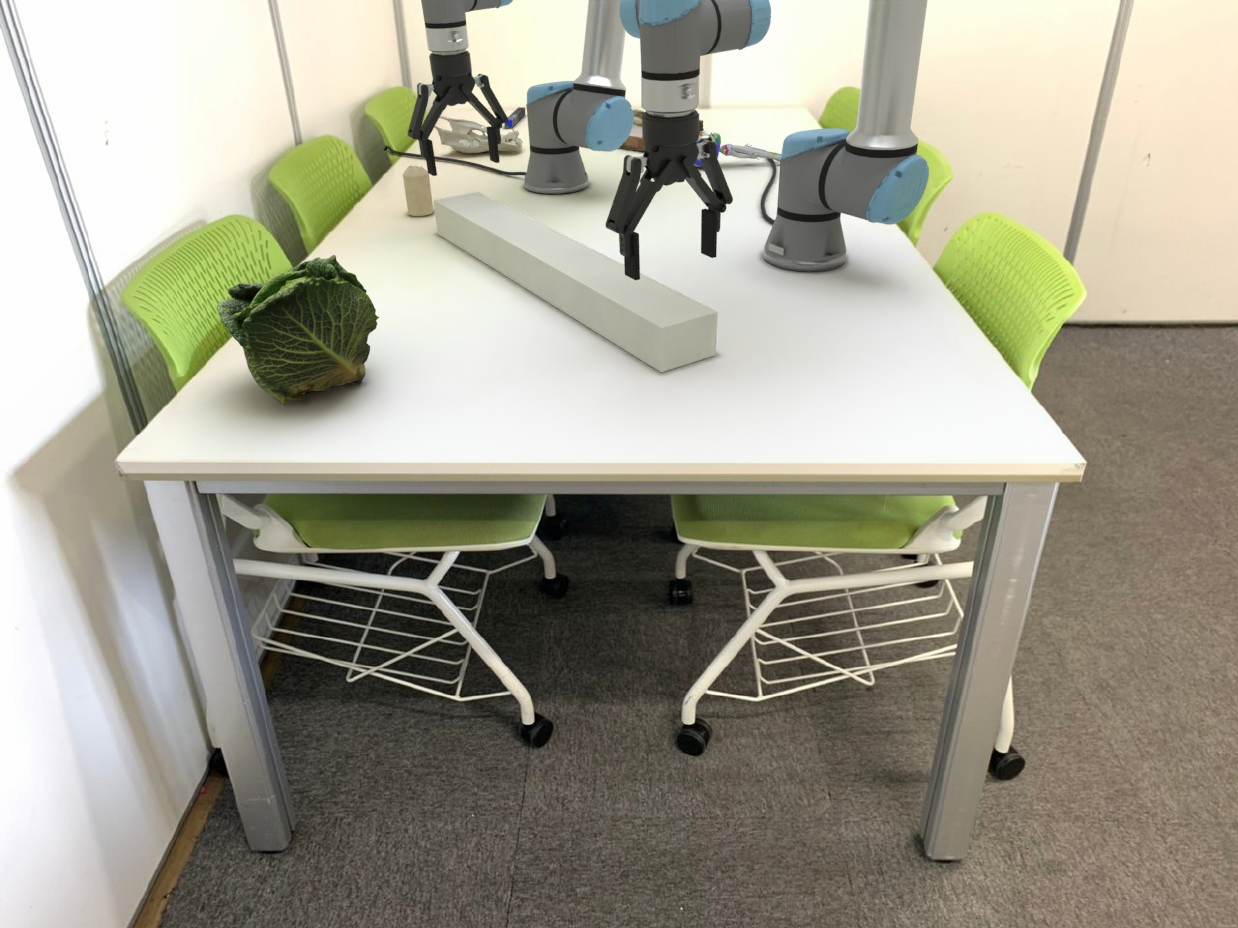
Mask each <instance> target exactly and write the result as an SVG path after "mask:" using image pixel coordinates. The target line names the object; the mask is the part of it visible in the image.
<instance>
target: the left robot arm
mask: <svg viewBox="0 0 1238 928" xmlns="http://www.w3.org/2000/svg"><path fill="white" fill-rule="evenodd" d="M513 1H514V0H420V2H421V9H422V14H423V22H424V30H425V38H426V45H427V50H428V51H429V52H430V53H429V55H428V58H429V64H430V65H429V66H430V71H431V72H430V73H431V78H432V81H431V83H422V82H418V83H417V85H416V93H417V94H416V95H417V96H416V100H415V104H414V107H413V111H412V115H411V119H410V122H409V126H408V130H407V136H408V137H409V138H411V139H413V140H416V141H418V146H419V152H420V153H419V154H418V153H414V152H413V153H412V152H406V151H405V152H404V151H399V150H395V149H394V148H392V147H391V146H390V145H385V146H384V148H383V151H384V152H386V151H389V152H391V153H392V154H394V155H399V156H407V157H412V158H420V159H425V162H426V170H427V171H428V173H429V175H431V176H433V177H435V176H438V172H437V165H436V161H444V162H450V163H457V164H463V165H467V166H473V167H476V168H479V169H484V170H487V171H491V172H494V173H497V174H501V175H506V176H524V180H523V183H524V188H525V189H526V190H527V191H530V192H531V193H535V194H536V193H537V194H543V195H544V194H545V195H562V194H570V193H576V192H579V191H583V190H584V189H586V188H587V187H589V175H588V173H587V171H586V168H585V164H584V161H583V158H582V156H581V153H580V148H584V149H589V150H591V151H593V152H604V153H605V152H607V153H608V152H609V153H611V152H614V151H616V150H618V149H619V147H620V146H621V145H622V144H623V143H624V142H625V141H626V140H627V138H628V136H629V135H630V132H631V129H632V126H633V120H634V114H633V110H634V109H632V104H631V102H630V101H629V100H628V99H627V98H626V93H627V87H626V86H625V85H624V83H623V82H622V80H621V76H622V67H623V61H624V60H623V59H624V51H625V42H626V33H627V32H626V30H625V29H624V27H623V25H622V22H621V18H620V12H619V9H620V1H621V0H588V4H587V14H586V23H585V31H584V32H585V33H584V40H583V41H584V43H583V53H582V63H581V72H580V75H579V76H578V77H576V78H575V79H574V80H563V81H561V80H560V81H553V82H546V83H539V84H535V85H532V86H530V87H529V88H528V89H527V91H526V105H525V108H526V115H527V128H528V129H527V130H528V140H529V141H528V142H529V157H528V162H527V168H526V171H505V170H502V169H498V168H495V167H492V166H487V165H485V164H480V163H476V162H472V161H468V160H462V159H457V158H456V159H455V158H451V157H443V156H436V155H435V151H434V143H433V140H432V139H430V136H431V134H432V132H433V130H434V129H435V128H434V127H435V126H437V123H438V121H439V120H440V118H439V117H440V116H442V113H443V112H444V111H445V109H447V107H455V106H457V105H466V103H469V104H470V105H471V107H472V108H473V109H474V110H475V111H476V112H477V113H478V114H479V115H480V116H481V117H482V118H483V119H484V120H485V122H487V123H488V124H489V125H490V126H486V128H487V133H486V134H487V135H486V136H488V145H489V151H488V153H489V161H491V162H492V163H495V164H499V163H500V162H501V161H500V151H498V144H501V135H500V134H501V129H502V127H503V124H504V123H507V122H508V116H507V114H506V112H505V110H504V108H503V106H502V105H501V103H500V101H499V100H498V98H497V96H496V95H495V93H494V91H493V89H492V87H491V83H490V79H489V76H488V75H486V74H483V73H478V74H477V75H476V76H473V67H472V59H471V52H469V51H468V50H467V49H468V48H469V47H470V44H469V35H468V26H467V15H466V13H470V12H475V11H483V10H489V9H499V8H501V7H505V6H508V5H510V4H511V3H512V2H513ZM475 86H476V87H477V88H479V89H480V91H481V93H482V95H483V96H484V99H485V100H486V101H487V104H488V105H489V107H490V109H491V110H492V112H491V111H490V110H489V109H488V108H487V107H486V106H485V105H484V104H483V103H482V102H481V101H480V100H479V98H478V96H477V95H476V94H474V93H473V90H474V88H475ZM432 92H433V94H435V95H436V96H435V98H434V99H433V101H432V106H431V107H430V109H429V111H428V113H427V115H426V117H425V114H426V110H427V108H428V104H429V97H431V95H432ZM493 114H494V115H493ZM424 118H425V119H424Z"/></svg>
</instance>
